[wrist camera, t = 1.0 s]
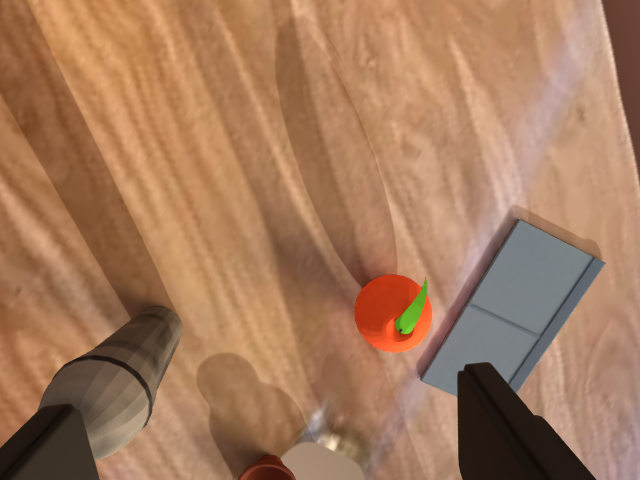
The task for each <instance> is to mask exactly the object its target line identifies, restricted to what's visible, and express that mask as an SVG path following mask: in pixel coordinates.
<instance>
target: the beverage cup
mask: <svg viewBox="0 0 640 480" xmlns="http://www.w3.org/2000/svg"><path fill="white" fill-rule="evenodd" d="M182 329H183V326H182V323H181V320H180V319H179V317H178V316H177V314H175V313H174V312H173V311H172V310H170V309H167V308H165V307H152V308H149V309H147V310H145V311H144V312H143V313H141V314H139V315H138V316H136V317H134V318H133V319H132V320H131V321H129V322H128V323H127V324H125V325H124V326H123V327H121V328H120V329H119V330H118V331H116V332H115V333H114V334H112V335H111V336H110V337H108V338H107V339H106V340H105V341H103V342H102V343H101V344H99V345H98V346H97V347H95V348H94V349H93V350H91V351H90V352H88V353H86V354H84V355H82V356H80V357H79V358H76V359H74V360H72V361H70V362H69V363H67V364H65V365H64V366H63V367H62V368H61V369H60V370H59V371H58V372H57V373H56V374H55V376H54V377H53V379H52V382H51V383H50V384H49V385H48V387H47V388H46V390H45V392H44V394H43V397H42V400H41V403H40V405H39V408H38V411H39V410H40V409H41V408H42V407H44V406H49V405H59V404H72V405H73V406H74V407H75V409H78V410H79V411H80V412H81V414H82V417H83V421H84V425H85V428H86V432H87V435H88V439H89V443H90V446H91V450H92V454H93V457H94V461H96V460H101V459H103V458H106V457H108V456H110V455H112V454H114V453H116V452H118V451H119V450H121V449H122V448H124V447H125V446H126V445H127V444H128V443H129V442H130V441H131V440H132V439H133V438H134V437H135V436H136V435H137V434H138V433H139V432H140V431H141V430H142V429H143V428H144V427H145V426H146V425H147V423H148V420H149V418H150V416H151V414H152V407H153V405H154V401H155V397H156V391H157V389H158V387H159V385H160V382H161V380H162V378H163V376H164V374H165V372H166V369H167V367H168V365H169V363H170V361H171V359H172V356H173V354H174V352H175V350H176V348H177V345H178V343H179V339H180V337H181V335H182Z"/></svg>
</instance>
